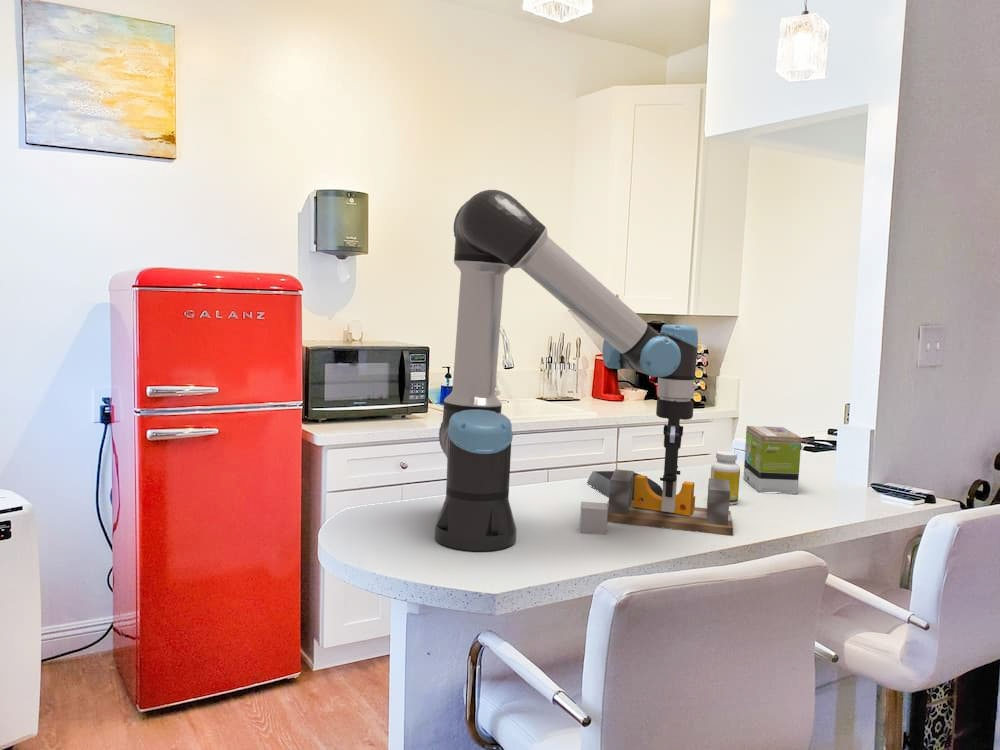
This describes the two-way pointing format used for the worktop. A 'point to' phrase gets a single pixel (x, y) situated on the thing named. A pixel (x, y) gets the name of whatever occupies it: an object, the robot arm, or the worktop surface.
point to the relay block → (593, 518)
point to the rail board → (700, 520)
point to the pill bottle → (727, 472)
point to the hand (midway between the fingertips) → (668, 507)
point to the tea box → (772, 459)
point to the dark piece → (602, 483)
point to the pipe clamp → (654, 501)
